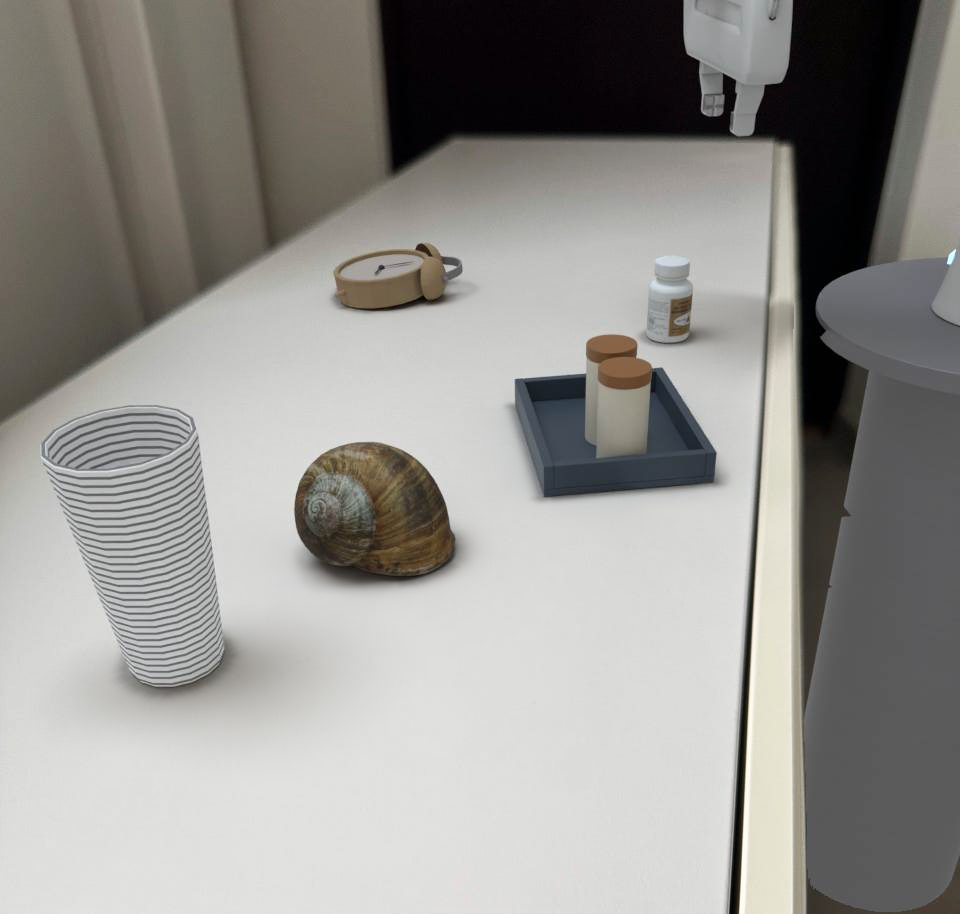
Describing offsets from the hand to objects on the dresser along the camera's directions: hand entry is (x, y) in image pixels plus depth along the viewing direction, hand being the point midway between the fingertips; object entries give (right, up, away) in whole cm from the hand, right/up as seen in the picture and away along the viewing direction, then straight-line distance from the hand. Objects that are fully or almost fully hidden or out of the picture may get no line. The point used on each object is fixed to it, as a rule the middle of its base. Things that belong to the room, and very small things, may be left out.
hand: (725, 124), depth 98 cm
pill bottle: (-3, -17, +12) cm, 20 cm away
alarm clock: (-32, -7, +26) cm, 42 cm away
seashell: (-30, -42, -21) cm, 56 cm away
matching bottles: (-12, -33, -10) cm, 36 cm away
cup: (-42, -49, -30) cm, 72 cm away
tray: (-12, -31, -8) cm, 34 cm away
